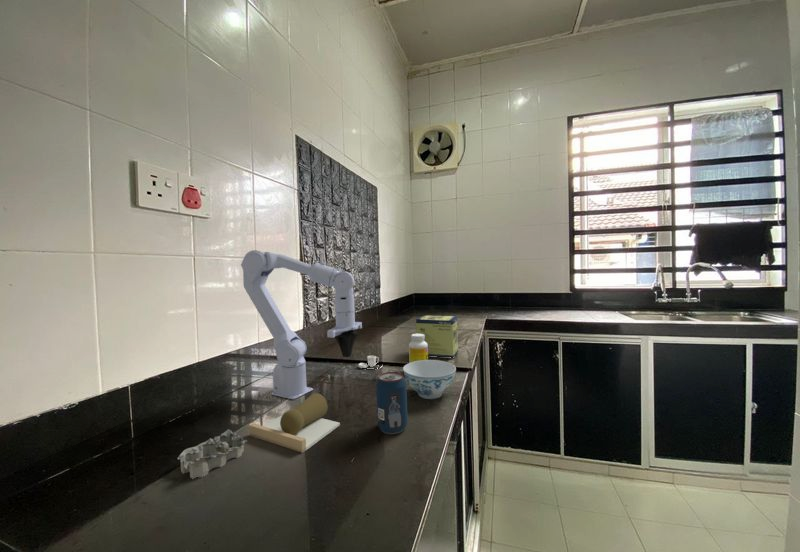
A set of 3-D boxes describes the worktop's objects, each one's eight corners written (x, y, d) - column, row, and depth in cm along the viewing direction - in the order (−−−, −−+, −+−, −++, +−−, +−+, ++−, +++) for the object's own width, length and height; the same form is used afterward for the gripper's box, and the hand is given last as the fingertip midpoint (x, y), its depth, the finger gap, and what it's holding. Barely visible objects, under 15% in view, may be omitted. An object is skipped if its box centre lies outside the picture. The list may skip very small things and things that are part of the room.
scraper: (249, 435, 70) (248, 425, 70) (290, 412, 81) (290, 403, 81) (302, 452, 63) (302, 441, 63) (339, 425, 73) (339, 415, 73)
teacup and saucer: (356, 370, 114) (356, 359, 114) (362, 363, 122) (362, 353, 121) (379, 371, 112) (379, 360, 112) (384, 364, 120) (384, 353, 120)
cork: (329, 417, 77) (299, 439, 66) (309, 417, 79) (277, 439, 68) (325, 392, 77) (295, 411, 67) (305, 393, 79) (273, 411, 69)
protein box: (454, 359, 122) (452, 320, 122) (416, 356, 128) (415, 319, 127) (458, 352, 132) (457, 315, 132) (423, 350, 137) (422, 315, 137)
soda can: (393, 417, 76) (391, 369, 76) (413, 427, 71) (412, 375, 71) (371, 428, 71) (369, 376, 71) (391, 439, 67) (390, 384, 66)
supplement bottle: (429, 374, 106) (428, 336, 106) (409, 374, 106) (408, 337, 106) (427, 367, 113) (426, 332, 113) (409, 368, 113) (408, 333, 113)
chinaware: (431, 411, 79) (430, 381, 79) (393, 394, 90) (392, 368, 90) (467, 393, 89) (466, 367, 89) (429, 380, 100) (428, 356, 100)
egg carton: (193, 484, 55) (191, 462, 55) (175, 470, 59) (174, 449, 59) (249, 454, 63) (248, 434, 63) (231, 443, 67) (230, 425, 67)
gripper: (340, 315, 85) (342, 364, 86) (369, 308, 98) (370, 351, 99) (320, 314, 89) (322, 362, 89) (351, 308, 102) (352, 349, 102)
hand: (346, 356), depth 94 cm, fingers closed
